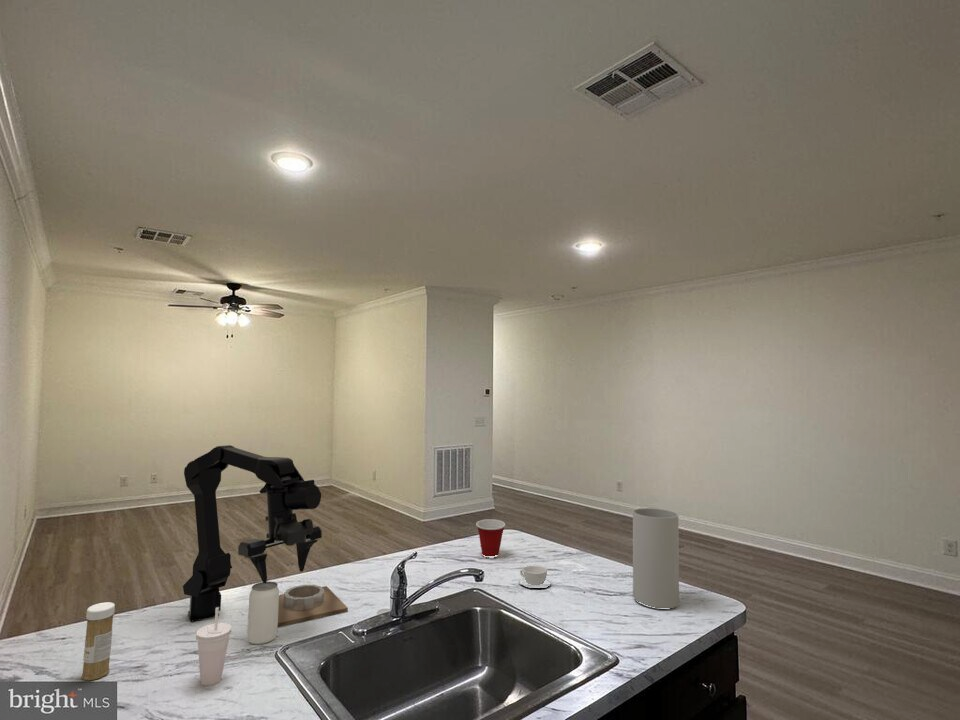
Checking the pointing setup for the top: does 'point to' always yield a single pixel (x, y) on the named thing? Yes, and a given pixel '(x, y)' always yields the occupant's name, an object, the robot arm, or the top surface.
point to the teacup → (534, 574)
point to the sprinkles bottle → (98, 640)
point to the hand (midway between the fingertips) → (283, 577)
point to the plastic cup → (490, 536)
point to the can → (263, 613)
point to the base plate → (311, 610)
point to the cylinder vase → (656, 557)
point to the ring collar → (303, 597)
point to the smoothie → (212, 650)
